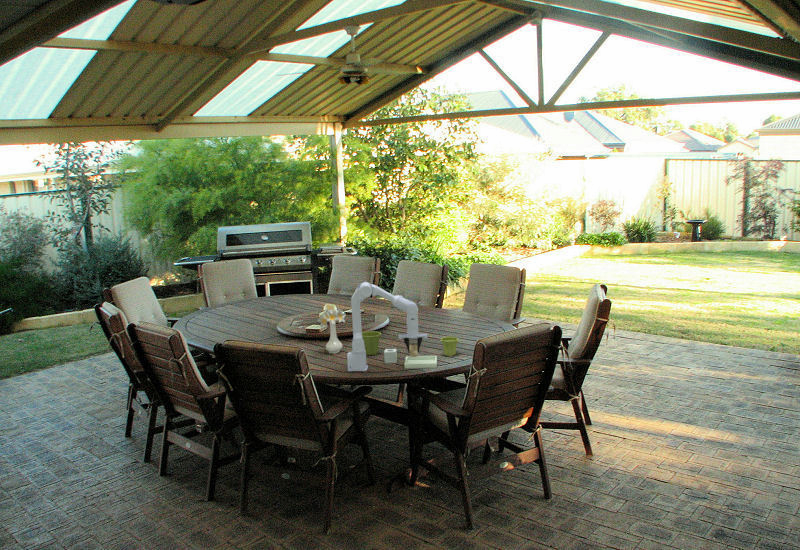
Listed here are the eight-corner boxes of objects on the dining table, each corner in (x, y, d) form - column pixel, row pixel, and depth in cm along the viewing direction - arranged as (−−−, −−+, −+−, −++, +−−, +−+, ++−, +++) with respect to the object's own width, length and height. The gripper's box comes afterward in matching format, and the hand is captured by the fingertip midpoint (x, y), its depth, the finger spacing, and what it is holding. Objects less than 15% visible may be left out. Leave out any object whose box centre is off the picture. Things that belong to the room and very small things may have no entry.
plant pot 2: (456, 351, 341) (455, 336, 339) (460, 356, 332) (460, 340, 330) (439, 353, 339) (439, 337, 338) (443, 357, 330) (442, 341, 329)
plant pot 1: (379, 356, 337) (378, 336, 336) (358, 356, 340) (356, 336, 338) (384, 350, 349) (383, 331, 347) (363, 350, 351) (362, 331, 349)
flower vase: (316, 356, 343) (313, 311, 340) (331, 347, 360) (328, 305, 357) (337, 357, 339) (335, 312, 335) (352, 348, 356) (349, 305, 352)
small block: (409, 356, 316) (409, 345, 315) (410, 354, 320) (409, 343, 319) (417, 356, 316) (417, 344, 315) (417, 354, 320) (417, 342, 319)
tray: (404, 369, 313) (404, 364, 313) (406, 361, 327) (406, 356, 327) (436, 368, 312) (436, 363, 312) (436, 360, 326) (436, 355, 326)
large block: (384, 363, 325) (384, 352, 324) (385, 360, 331) (385, 349, 330) (396, 363, 324) (395, 351, 324) (397, 359, 330) (396, 348, 330)
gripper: (397, 328, 312) (399, 354, 314) (426, 327, 311) (427, 354, 313) (398, 325, 319) (399, 351, 321) (427, 324, 318) (428, 350, 320)
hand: (413, 352), depth 318 cm, fingers closed on small block, 4 cm apart
